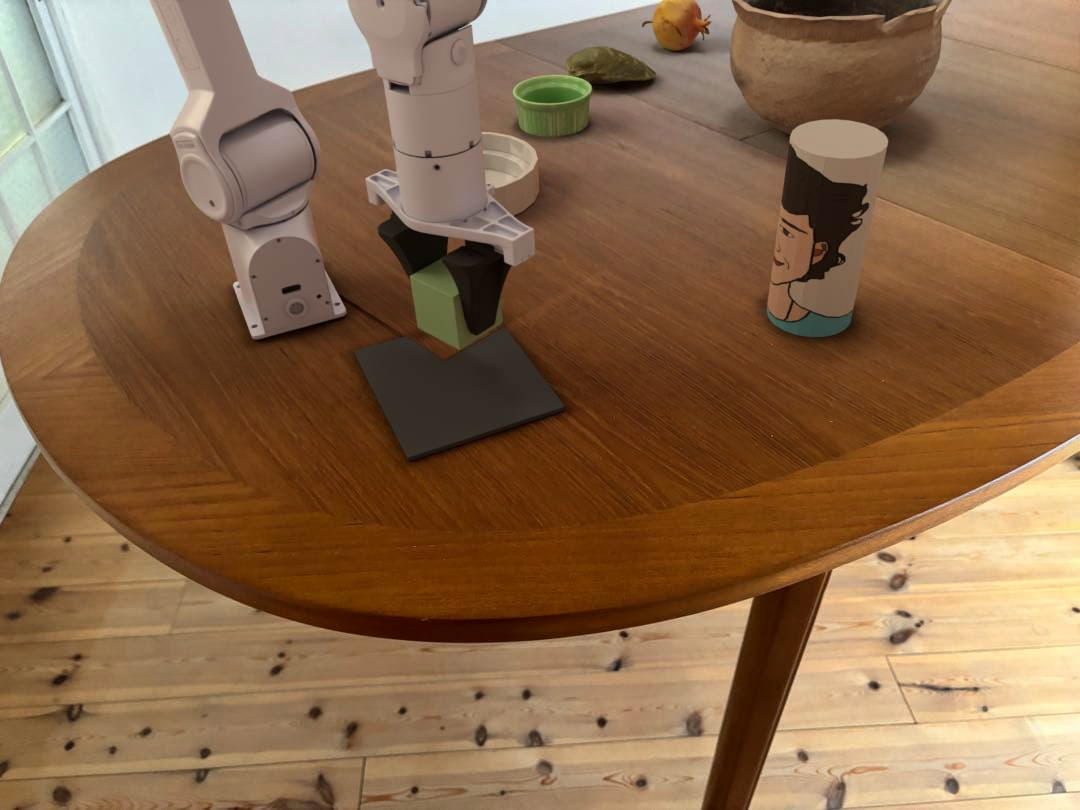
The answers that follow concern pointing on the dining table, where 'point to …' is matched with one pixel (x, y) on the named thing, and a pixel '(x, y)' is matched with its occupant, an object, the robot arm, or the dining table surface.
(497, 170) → the basin
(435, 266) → the green block
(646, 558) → the dining table surface
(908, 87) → the ceramic bowl
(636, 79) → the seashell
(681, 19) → the fruit
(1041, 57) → the dining table surface
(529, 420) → the mat
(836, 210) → the cup
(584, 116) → the ramekin
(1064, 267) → the dining table surface
